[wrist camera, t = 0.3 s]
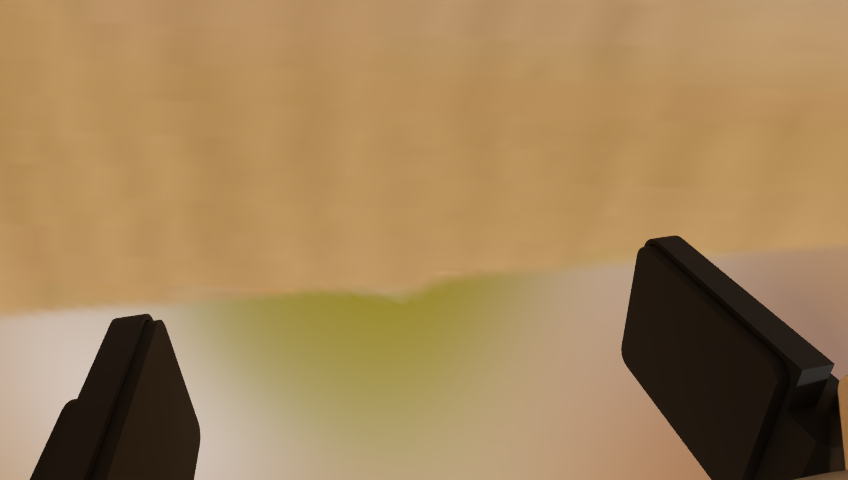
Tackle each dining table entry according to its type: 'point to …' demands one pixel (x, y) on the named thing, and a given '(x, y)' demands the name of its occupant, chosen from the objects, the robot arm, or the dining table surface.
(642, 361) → the robot arm
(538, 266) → the dining table surface
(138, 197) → the dining table surface
